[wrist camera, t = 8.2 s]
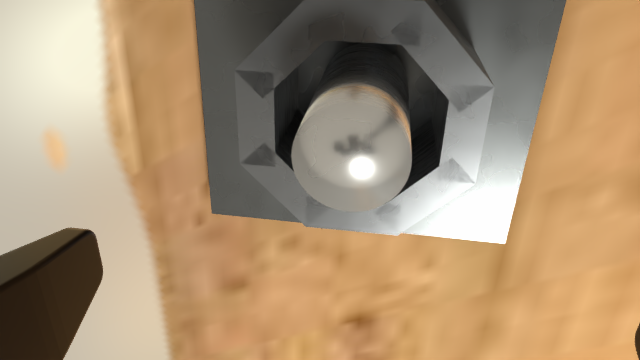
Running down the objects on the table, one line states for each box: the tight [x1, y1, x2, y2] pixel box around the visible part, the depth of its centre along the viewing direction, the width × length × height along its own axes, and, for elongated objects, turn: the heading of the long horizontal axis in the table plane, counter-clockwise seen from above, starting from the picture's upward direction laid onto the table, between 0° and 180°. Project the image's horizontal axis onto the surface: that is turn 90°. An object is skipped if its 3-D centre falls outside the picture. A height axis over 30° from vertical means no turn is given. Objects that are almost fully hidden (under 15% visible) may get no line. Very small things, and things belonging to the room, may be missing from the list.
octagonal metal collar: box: [234, 0, 494, 235], centre depth 16 cm, size 7×7×4 cm
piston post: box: [194, 0, 566, 244], centre depth 16 cm, size 12×12×7 cm
